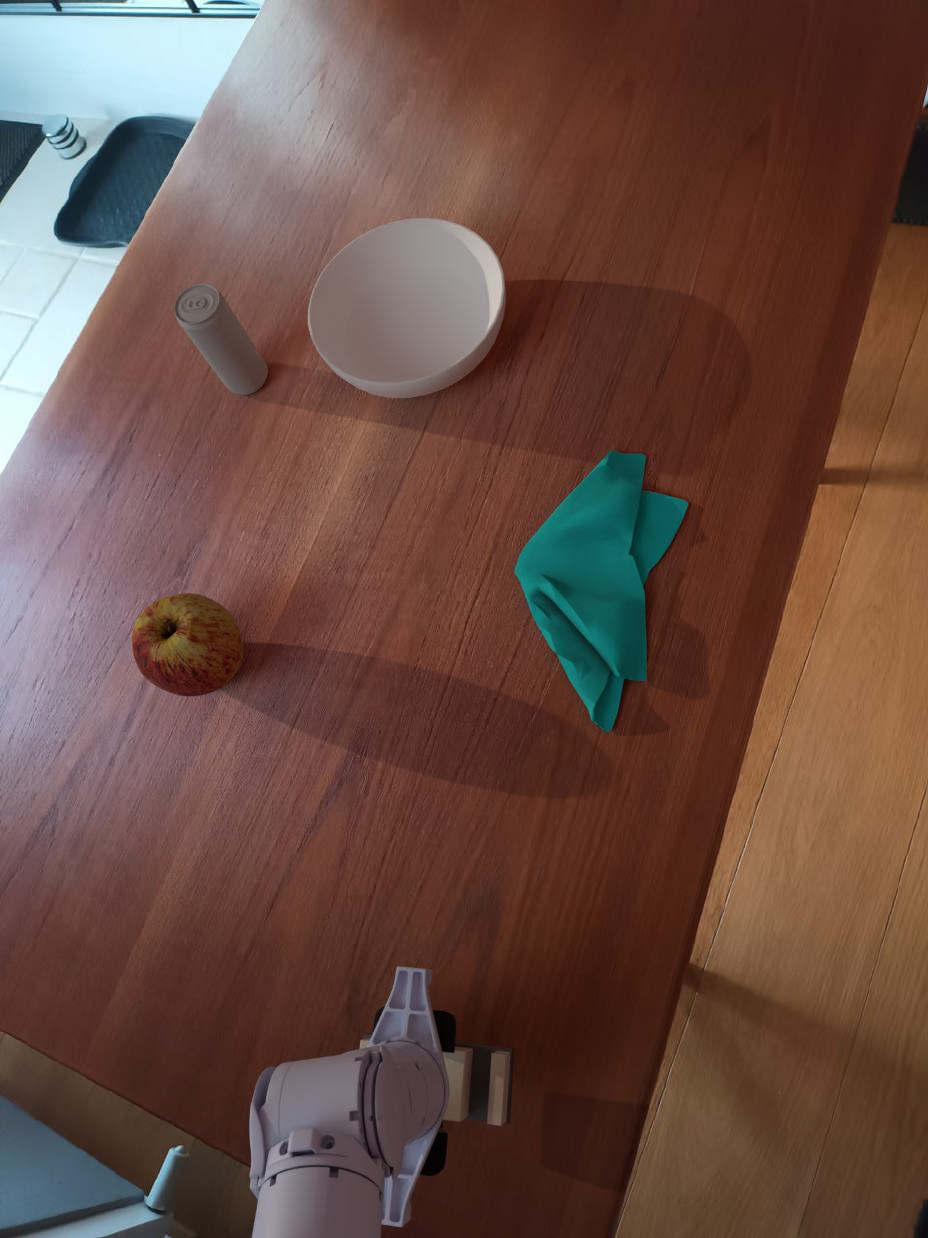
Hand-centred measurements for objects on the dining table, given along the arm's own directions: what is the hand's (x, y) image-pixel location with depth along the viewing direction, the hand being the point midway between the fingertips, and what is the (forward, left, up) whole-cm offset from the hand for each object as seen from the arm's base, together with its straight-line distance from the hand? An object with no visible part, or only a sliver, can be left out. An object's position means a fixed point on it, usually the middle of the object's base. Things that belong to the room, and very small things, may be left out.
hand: (432, 1077), depth 68 cm
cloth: (+41, -9, -5) cm, 42 cm away
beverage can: (+63, +27, -5) cm, 69 cm away
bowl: (+67, +9, -5) cm, 68 cm away
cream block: (0, 0, -1) cm, 1 cm away
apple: (+32, +25, -5) cm, 41 cm away
